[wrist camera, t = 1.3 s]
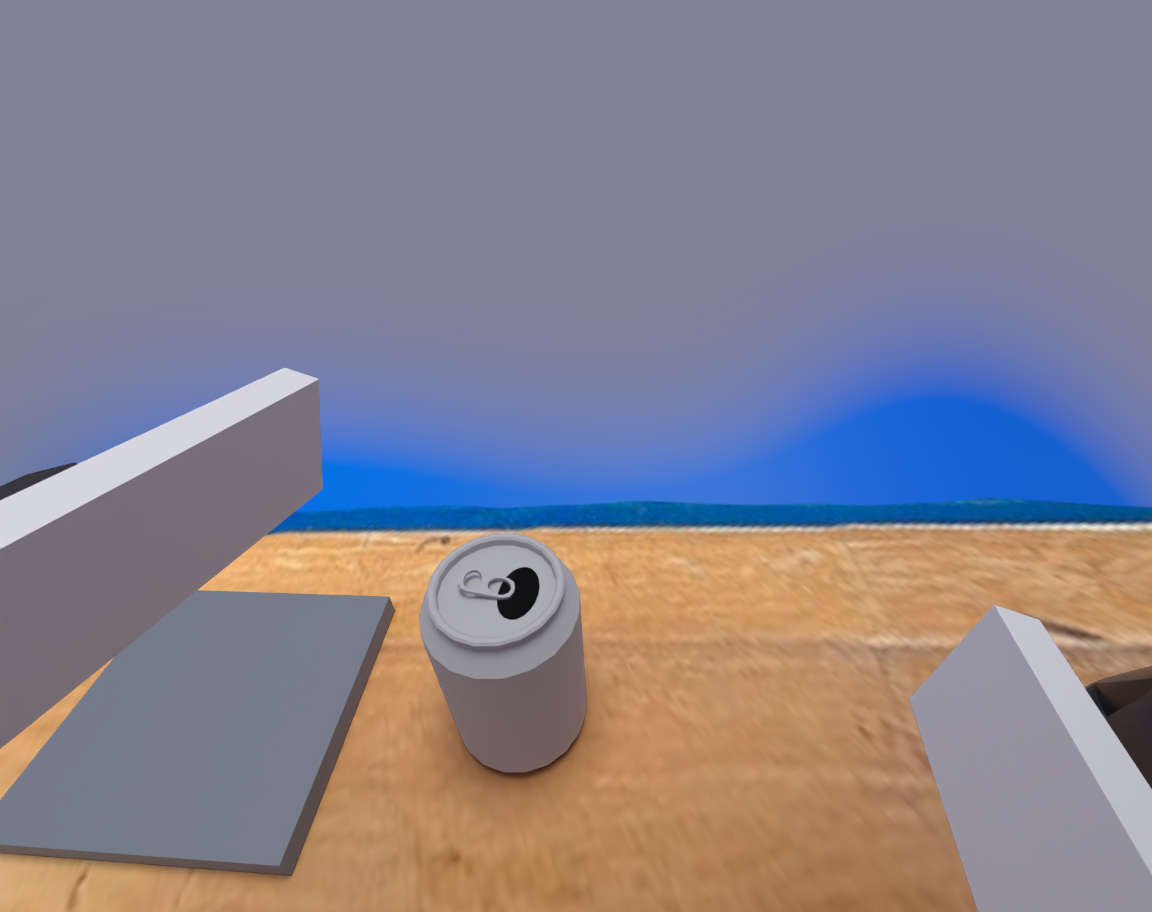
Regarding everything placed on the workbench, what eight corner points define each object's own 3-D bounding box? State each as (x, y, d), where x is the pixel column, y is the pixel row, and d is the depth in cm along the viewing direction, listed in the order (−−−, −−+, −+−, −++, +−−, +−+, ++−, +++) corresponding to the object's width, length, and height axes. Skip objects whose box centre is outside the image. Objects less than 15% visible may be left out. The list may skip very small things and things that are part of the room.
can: (574, 791, 28) (560, 669, 21) (439, 767, 29) (379, 643, 22) (596, 660, 34) (590, 527, 26) (482, 644, 35) (446, 513, 28)
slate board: (394, 610, 38) (389, 596, 37) (291, 875, 26) (279, 865, 25) (179, 602, 39) (168, 589, 38) (-11, 852, 27) (-33, 841, 26)
